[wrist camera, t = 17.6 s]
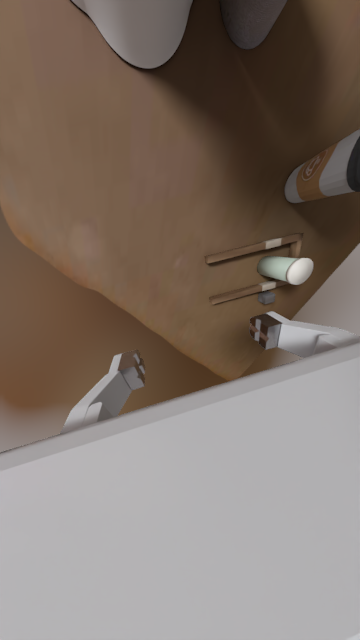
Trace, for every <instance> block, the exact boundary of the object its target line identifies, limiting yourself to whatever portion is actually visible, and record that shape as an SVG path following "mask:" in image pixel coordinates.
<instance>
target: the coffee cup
mask: <svg viewBox="0 0 360 640" xmlns="http://www.w3.org/2000/svg"><path fill="white" fill-rule="evenodd" d="M354 191H355V192H360V129H359V130H357V131H355V132H354V133H352V134H351V135H349V136H347V137H346V138H344V139H341V140H340V141H338V142H337V143H335V144H333V145H332V146H330V147H329V148H327V149H325V150H324V151H322V152H321V153H319V154H317V155H316V156H314V157H313V158H311V159H310V160H308V161H307V162H305V163H304V164H302V165H300V166H299V167H297V168H296V169H295V170H294V171H293V172H292V174H291V175H290V176H289V178H288V180H287V182H286V185H285V197H286V199H287V200H288V201H289V202H291V203H299V202H304V201H311V200H317V199H322V198H327V197H332V196H334V195H339V194H344V193H349V192H354Z"/></svg>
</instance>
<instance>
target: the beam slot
mask: <svg viewBox="0 0 360 640" xmlns="http://www.w3.org/2000/svg"><path fill="white" fill-rule="evenodd" d="M302 238H303V233H296V234H292V235H288V236H284V237H280V238H276V239H271V240H267V241H263V242H260V243H256V244H252V245H248V246H244V247H240V248H236V249H232V250H228V251H224V252H220V253H216V254H212V255H208V256H205V263H212V262H216V261H220V260H224V259H228V258H232V257H236V256H240V255H244V254H248V253H252V252H256V251H260V250H264V249H269V248H273V247H277V246H280V245H283V244H287V243H291V244H290V250H289V257H288V258H299V253H300V248H301V243H302ZM286 284H289V283H288V282H286V281H283V280H279V279H275V280H272V281H267V282H264V283H260V284H257V285H253V286H249V287H246V288H242V289H238V290H234V291H231V292H227V293H223V294H220V295H216V296H212V297H209V300H210V303H211V304H212V305H213V304H216V303H220V302H224V301H227V300H231V299H235V298H238V297H242V296H246V295H249V294H253V293H257V292H260V291H265V290H269V289H272V288H275V287H278V286H282V285H286ZM274 300H275V294H274V293H271V292H269V291H266V292H263V293H259V296H258V301H260V302H261V303H263V304H268V303H271V302H274Z"/></svg>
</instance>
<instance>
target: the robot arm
mask: <svg viewBox="0 0 360 640" xmlns="http://www.w3.org/2000/svg"><path fill="white" fill-rule="evenodd" d="M72 1H73V2H74V3H75V4H76V5H77V6H78V7H79V8H81V9H82V10H83V11H84V12H86V13H87V14H88V15H89V16H90V18H91V19H92V20H93V22H94V23H95V25H96V26H97V28H98V29H99V31H100V32H101V34H102V35H103V37H104V38H105V40H106V41H107V42H108V44H109V45H110V46H111V47H112V48H113V49H114V51H115V52H116V53H117V54H118V55H119V56H121V57H122V58H123V59H124V60H126V61H127V62H129V63H130V64H132V65H134V66H137V67H140V68H155V67H158V66H160V65H162V64H164V63H165V62H166V61H168V60H169V59H170V58H171V56H172V55H173V54H174V53H175V51H176V49H177V48H178V46H179V44H180V42H181V39H182V37H183V34H184V31H185V28H186V24H187V20H188V15H189V11H190V7H191V4H192V1H193V0H72ZM250 324H251V326H250V328H249V332H250V335H251V337H252V338H253V339H254V340H256V341H259V344H260V345H261V346H262V347H263V348H264V349H265V350H267V349H270V348H274V347H279V348H281V349H283V350H286V351H288V352H291V353H293V354H296V355H298V356H300V357H303V359H300V360H297V361H294V362H290V363H287V364H284V365H281V366H277V367H274V368H271V369H268V370H264V371H261V372H258V373H255V374H252V375H248V376H245V377H242V378H239V379H235V380H232V381H229V382H226V383H223V384H219V385H216V386H213V387H210V388H206V389H203V390H200V391H197V392H193V393H190V394H187V395H184V396H181V397H178V398H174V399H171V400H168V401H164V402H161V403H158V404H155V405H152V406H148V407H145V408H142V409H139V410H135V411H132V412H129V413H126V414H123V415H119V416H117V415H118V414H119V412H120V410H121V408H122V407H123V405H124V403H125V401H126V400H127V398H128V396H129V395H130V393H131V390H134V389H137V388H140V387H143V386H145V377H144V375H143V374H144V373H145V365H144V361H143V359H142V358H140V353H139V351H138V350H133V351H129V352H125V353H122V354H118V355H115V356H114V358H113V361H112V364H111V367H110V370H109V373H108V374H107V375H105V376H104V377H103V378H102V379H101V380H100V381H99V382H98V383H97V384H96V385H95V386H94V387H93V388H92V389H91V390H90V391H89V392H88V394H87V395H86V396H85V397H84V398H83V399H82V400H81V401H80V402H79V403H78V404H77V405H76V406H75V407H74V408H73V409H72V410H71V412H70V414H69V416H68V418H67V420H66V422H65V425H64V427H63V429H62V431H61V433H60V434H58V435H55V436H52V437H48V438H45V439H42V440H39V441H35V442H32V443H29V444H26V445H23V446H20V447H16V448H13V449H10V450H6V451H3V452H0V640H360V336H357V335H355V334H353V333H350V332H348V331H346V330H344V329H341V328H334V327H329V326H323V325H317V324H311V323H305V322H299V321H290V320H288V319H286V318H284V317H282V316H280V315H279V314H277V313H275V312H272V311H270V312H267V313H264V314H261V315H258V316H254V317H251V318H250Z"/></svg>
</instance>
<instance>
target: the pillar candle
mask: <svg viewBox="0 0 360 640" xmlns="http://www.w3.org/2000/svg"><path fill="white" fill-rule="evenodd" d="M286 2H287V0H220V7H221V14H222V18H223V22H224V25H225V27H226V29H227V33H228V35H229V36H230V38H231V40H232V41H233V42H234V43H235V44H236V45H237V46H239V47H240V48H243V49H252V48H255V47H256V46H258V45H259V44H260V43H261V42H262V41H263V40H264V39H265V38H266V36H267V35H268V33H269V31H270V30H271V28H272V26H273V24H274V23H275V21H276V19H277V18H278V16H279V14H280V13H281V11H282V9H283V7H284V6H285V4H286Z"/></svg>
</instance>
